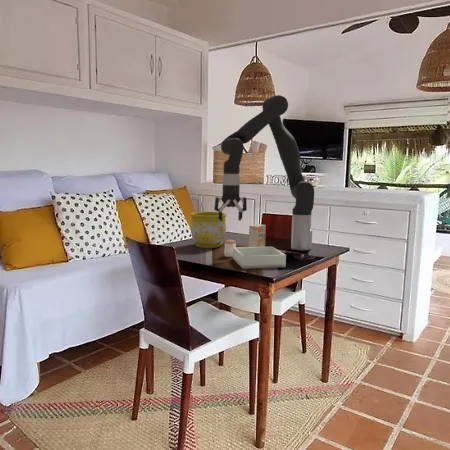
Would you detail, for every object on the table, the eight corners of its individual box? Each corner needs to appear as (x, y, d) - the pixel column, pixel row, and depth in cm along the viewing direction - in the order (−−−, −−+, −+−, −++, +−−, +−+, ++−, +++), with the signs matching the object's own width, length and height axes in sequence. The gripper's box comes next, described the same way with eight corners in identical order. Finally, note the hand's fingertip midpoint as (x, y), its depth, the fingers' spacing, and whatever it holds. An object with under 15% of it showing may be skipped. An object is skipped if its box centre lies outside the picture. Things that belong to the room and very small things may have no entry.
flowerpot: (229, 248, 210) (230, 215, 207) (193, 249, 206) (193, 216, 203) (221, 241, 227) (221, 211, 225) (187, 243, 223) (187, 211, 220)
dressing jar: (234, 254, 196) (234, 239, 195) (236, 256, 191) (236, 241, 190) (223, 254, 195) (223, 239, 194) (225, 257, 190) (225, 241, 189)
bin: (272, 257, 191) (272, 246, 190) (285, 267, 173) (285, 255, 173) (232, 258, 187) (233, 247, 187) (242, 268, 170) (242, 256, 169)
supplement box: (257, 254, 196) (258, 226, 194) (248, 253, 199) (248, 225, 197) (265, 251, 203) (266, 224, 201) (256, 250, 206) (257, 223, 204)
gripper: (244, 183, 194) (243, 219, 196) (213, 183, 191) (213, 219, 193) (248, 184, 186) (247, 221, 189) (216, 184, 184) (216, 221, 186)
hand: (230, 220), depth 191 cm, fingers open, 8 cm apart
